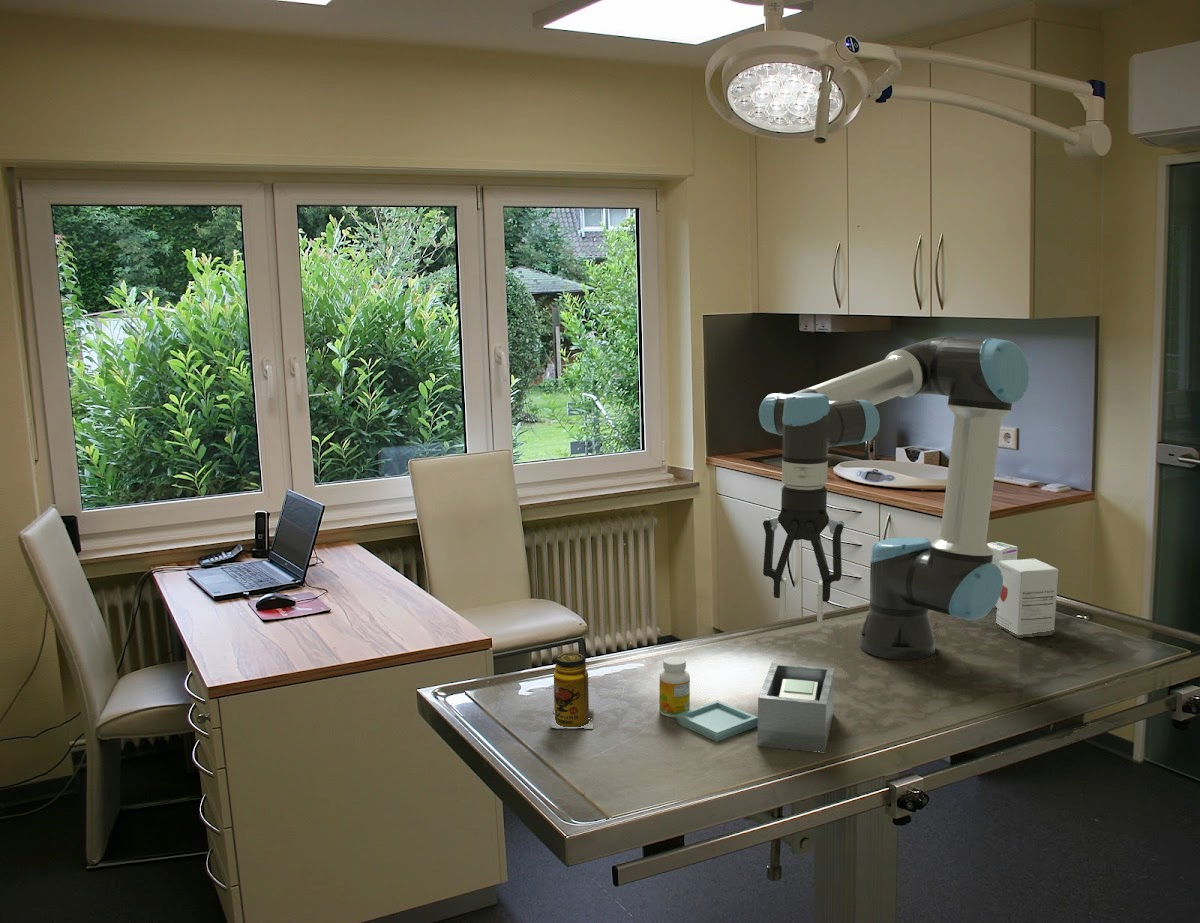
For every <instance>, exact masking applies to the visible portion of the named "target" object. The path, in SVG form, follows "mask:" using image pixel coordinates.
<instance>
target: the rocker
mask: <svg viewBox="0 0 1200 923" xmlns="http://www.w3.org/2000/svg"><path fill="white" fill-rule="evenodd" d="M817 692H818V682H814V681H804V680H794V679H783V681H782V686H781V690H780V695H777V697H786V698H796V699H806V700H816V701H818V699H816V698H817Z"/></svg>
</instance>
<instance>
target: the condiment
mask: <svg viewBox="0 0 1200 923" xmlns="http://www.w3.org/2000/svg"><path fill="white" fill-rule="evenodd" d="M586 661H587V659H586V657H585V655H584V654H581V653H578V652H576V653H575V652H566V653H562V654H558V655H557V656H556V657H555V671H554V673H553V702H554V703H553V704H554V705H553V706H554V709H553V710H554V711H555V713H554V715H555V720H556V723H557V724H558V725H560V726H563V727H581V726H584V725H586V724H588V723H589V721H590V722H591V724H592V725H588V726H591V727H586V728H584V729H583V730H585V729H589V730H590V729H592V730H594V709H595V708H589V707H590V706H589V705H590V702H589V701H590V700H589V699H590V698H589V695H590V694H589V674H588V673H589V672H588V671H587V665H586ZM588 718H590V719H588ZM591 719H592V720H591Z"/></svg>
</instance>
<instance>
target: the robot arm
mask: <svg viewBox="0 0 1200 923" xmlns="http://www.w3.org/2000/svg"><path fill="white" fill-rule="evenodd" d="M1023 352H1024V351H1023V350H1022V348H1020V346H1019V345H1017V343H1015V342H1013V341H1011V340H1007V339H1005V340H1004V339H1000V338H995V337H991V338H990V337H987V338H985V337H984V338H983V337H962V336H961V337H960V336H948V335H946V336H939V337H938V336H937V337H933V338H928V339H925V340H922V341H918V342H916V343H912V344H909V345H907V346H904V347H900V348H898V349H895V350H893V351H891V352H889V353H888V354H887V355H886V356H885V357H884V359H883V360H880V361H878V362H875V363H872V364H870V365H866V366H864V367H861V368H858V369H856V370H854V371H850V372H847V373H845V374H843V375H840V376H838V377H837V376H836V377H835V378H832V379H829V380H827V381H824V382H821V383H819V384H816V385H813V386H811V387H807V388H804V389H801V390H798V391H796V392H792V393H785V392H778V393H776V392H775V393H774V392H773V393H770V394H767V396H765V398H763V400H762V401H761V403H760V405H759V409H758V419H759V423H760V425H761V427H762V428H763V429H764V430H765V431H766V432H767V433H769V434H770V433H771V434H775V435H778V436H780V437H781V436H782V459H781V460H782V461H781V465H782V466H781V482H782V483H783V485H782V487H781V498H780V499H781V500H780V501H781V506H780V507H781V510H780V512H779V514H778V516H774V517H769V516H768V517H765V519H764V520H763V523H762V527H763V530H764V532H765V538H764V539H765V540H764V541H765V542H764V553H763V554H764V556H763V569H762V572H763V573H762V574H763V576H764V577H769V578H771V579H772V580H773V597H774V599H779V619H785V616H786V615H787V614H786V613H787V577H783V573H784V571H785V567H786V565H787V561H788V558H789V556H790V553H791V551H792V547H793V544H794V541H799V540H804V541H809V542H810V543H811V546H812V548H813V552H814V556H815V559H816V563H817V566H818V569H819V573H820V578H821V579H819V580H818V584H817V607H816V608H817V611H816V612H817V614H816V615H817V616H816V622H822V621H823V618H824V602H827V603H828V602H830V598H831V584H832V583H833V582H839V581H841V578H842V574H843V573H842V572H843V571H842V533H843V530H844V528H845V523H844V521H842V520H841V521H839V520H838V521H837V520H833V519H830V517H829V515H828V512H827V506H828V504H827V499H828V498H827V496H828V495H827V494H828V493H827V492H828V489H827V487H826V486H825V485H826V484H828V466H829V460H828V459H829V458H828V457H829V448H834V447H841V446H849V445H859V444H861V443H865V442H869V441H871V440H872V439H873V438H875V437H876V436H877V434H878V432H879V429H880V423H881V420H880V419H881V418H880V413H879V411H878V409H877V407H876V406H877V405H879V404H881V403H883V402H886V401H889V400H891V399H894V398H897V397H899V398H910V397H913V396H916V395H939V396H945V397H948V400H947V407H948V408H949V409H950V410H951V412H952V413H953V415H954V417H953V418H954V421H953V428H952V435H951V436H952V437H951V443H950V444H951V446H950V452H949V461H948V469H947V478H946V487H945V495H944V496H945V497H944V502H943V503H944V504H943V509H942V510H943V511H942V518H941V527H940V535H939V537H938V538H937V539H936V540H934V541H932V543H931V541H930V540H929V539H928V538H924V537H915V536H913V537H911V536H910V537H909V536H907V537H904V536H903V537H894V538H891V537H890V538H886V539H882V540H879V541H877V542H875V543H874V544H873V546H872V548H871V557H870V558H871V559H870V561H869V562H870V570H869V571H870V576H869V577H870V578H869V580H870V582H869V610H868V614H867V615H866V619H865V621H864V624H863V626H862V629H861V632H860V635H859V647H860V649H861V650H862V651H864V652H865V653H868V654H870V655H872V656H875V657H879V658H884V659H889V660H897V661H898V660H899V661H914V660H922V659H926V658H929V657H931V656H932V654H933V653H934V654H935V652H936V637H935V635H934V633H933V628H932V624H931V621H930V618H929V614H928V613H929V612H928V611H929V610H931V611H934V612H937V613H941V614H944V615H946V616H950V617H952V618H954V619H963V620H967V621H978V620H981V619H983V618H985V617H986V616H987V615H988V614H989V613H991V611H992V610H993V609H995V608H994V606H995V605H996V603H997V601H998V599H999V597H1000V594H1001V591H1002V586H1003V576H1002V574H1001V570H1000V569H999V567H997V566H996V565H995V564H993V563H992V559H993V551H992V550H991V549H990V547H989V546H988V545H987V539H988V532H989V521H990V513H991V505H992V499H993V490H994V482H995V476H996V475H995V474H996V467H997V458H998V450H999V444H1000V443H999V442H1000V434H1001V425H1002V420H1004V418H1006V417H1007V415H1009V414H1011V412H1012V407H1013V404H1014V403H1016V402H1018V401H1020V400H1021V399H1022V398H1023V397H1024V395H1025V394H1024V393H1025V392H1026V391H1027V389H1028V386H1029V379H1030V377H1029V376H1030V370H1029V365H1028V363H1029V362H1028V361H1027V357H1026V355H1025V354H1024V353H1023ZM875 405H876V406H875ZM778 524H780V526H781V528H782V529H783V530H784V531H785V533H786V534H787V535H786V538H785V541H784V545H783V547H782V549H781V550H782V551H781V553H780V556H779V559H778V563H777V566H776V568H773V560H774V558H773V557H774V549H775V548H774V547H775V531H776V530H777V529H778ZM827 527H829V533H830V534H831V535H832V572H830V570H829V566H828V561H827V559H826V555H825V550H824V547H823V543H822V538H821V536H820V534H821V533H822V532H823V531H824V529H825V528H827ZM934 654H933V655H934ZM930 655H931V656H930Z"/></svg>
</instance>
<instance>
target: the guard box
mask: <svg viewBox="0 0 1200 923" xmlns="http://www.w3.org/2000/svg"><path fill="white" fill-rule="evenodd" d="M783 679H794V680H804V681H814V682H818V692H817V698H816V699H818V701H816V700H806V699H796V698H786V697H777V695H780V690H781V686H782V681H783ZM834 694H835V667H828V666H827V667H826V666H815V665H803V664H793V663H783V662H782V663H781V662H773V661H772V662H771V664H770V667H769V668H768V671H767V675H766V676H765V679H764V681H763V684H762V687H761V689H760V693H759V694H758V696H757V697H758V698H757V717H758V726H757V744H756V745H757V747H760V748H761V747H762V748H763V747H764V748H771V749H781V750H788V749H791V751H797V750H803V751H802V752H806V751H817V752H818V751H820V752H825V753H826V750H827V749H826V748H827V746H826V745H827V744H828V741H827V740H828V739H829V735H830V732H831V731H830V730H831V726H832V721H833V716H834V703H835V701H834V699H835V697H834V696H835V695H834ZM825 749H826V750H825Z"/></svg>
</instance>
